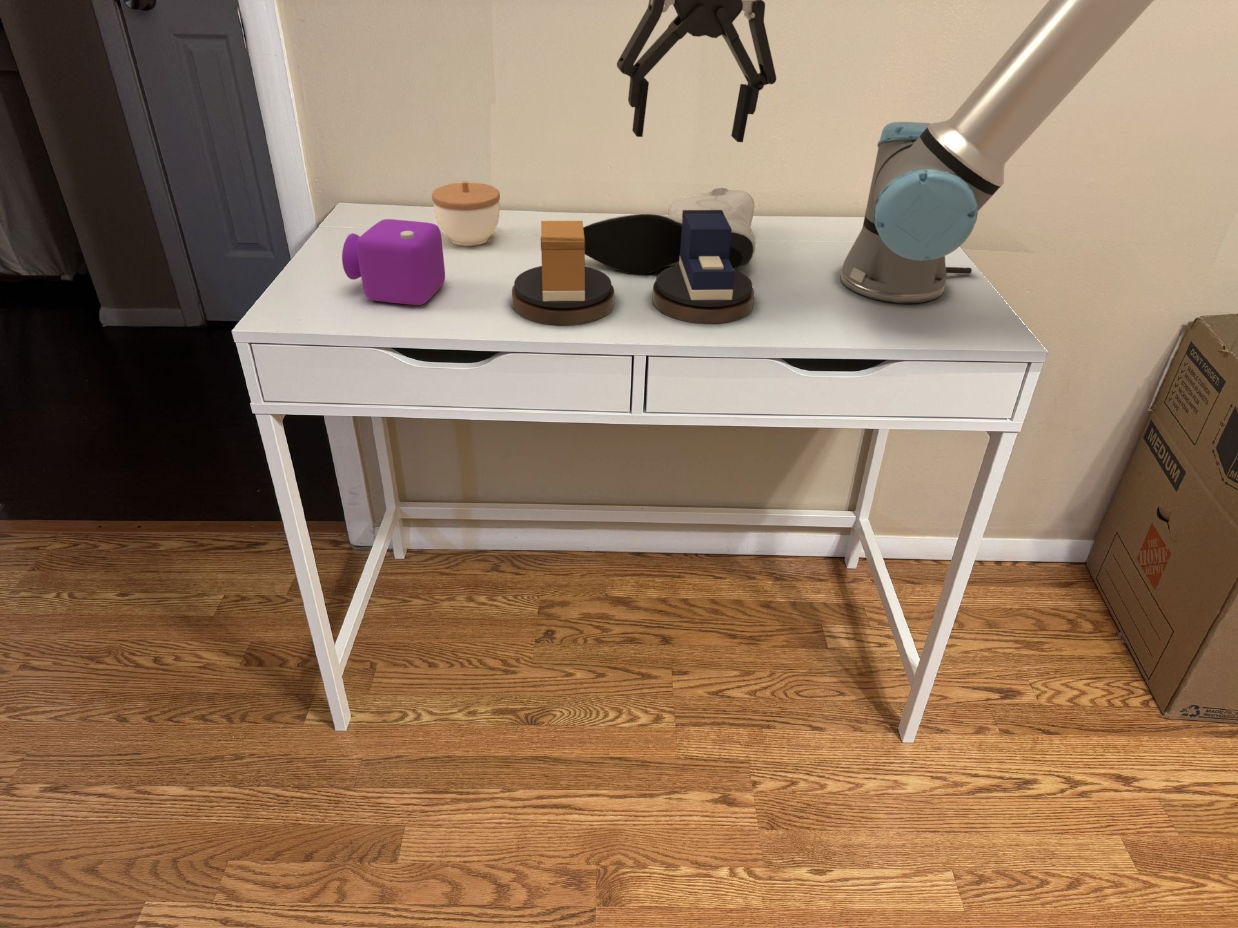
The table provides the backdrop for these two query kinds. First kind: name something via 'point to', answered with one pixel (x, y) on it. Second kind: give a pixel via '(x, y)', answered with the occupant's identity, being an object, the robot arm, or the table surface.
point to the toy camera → (396, 261)
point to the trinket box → (467, 212)
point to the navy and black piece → (704, 264)
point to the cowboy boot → (668, 233)
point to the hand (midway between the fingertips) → (687, 137)
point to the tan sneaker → (562, 270)
